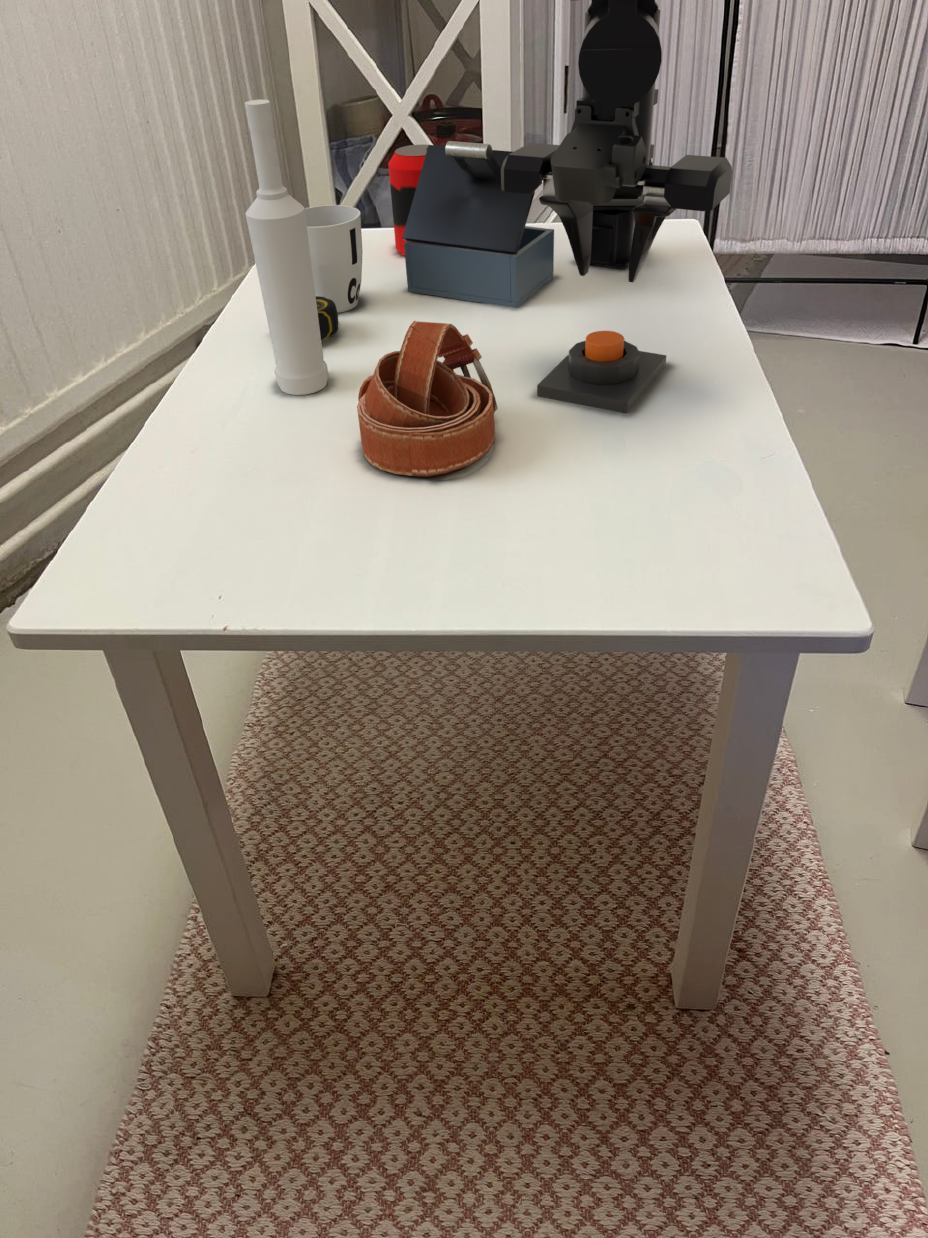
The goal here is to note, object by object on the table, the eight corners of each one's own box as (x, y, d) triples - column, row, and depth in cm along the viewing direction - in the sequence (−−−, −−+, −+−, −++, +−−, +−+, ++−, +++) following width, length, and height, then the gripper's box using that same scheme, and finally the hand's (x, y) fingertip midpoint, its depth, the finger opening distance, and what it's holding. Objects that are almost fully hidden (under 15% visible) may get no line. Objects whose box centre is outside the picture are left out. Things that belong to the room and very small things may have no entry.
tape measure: (329, 321, 105) (325, 288, 102) (348, 342, 100) (344, 308, 97) (270, 333, 103) (264, 300, 100) (287, 355, 98) (281, 321, 95)
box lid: (430, 147, 107) (413, 124, 102) (545, 157, 101) (531, 132, 97) (404, 240, 107) (386, 221, 103) (517, 254, 102) (502, 235, 97)
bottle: (320, 397, 90) (275, 108, 74) (269, 394, 91) (215, 108, 75) (336, 374, 94) (297, 95, 78) (287, 371, 95) (239, 95, 79)
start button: (593, 345, 90) (594, 327, 89) (628, 351, 89) (629, 333, 88) (579, 359, 88) (579, 342, 87) (615, 366, 86) (616, 348, 85)
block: (581, 352, 95) (582, 323, 93) (665, 366, 92) (668, 337, 90) (536, 396, 88) (536, 367, 86) (626, 414, 84) (629, 383, 82)
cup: (366, 316, 105) (355, 225, 99) (295, 319, 105) (280, 228, 99) (373, 290, 111) (363, 203, 105) (306, 293, 112) (293, 206, 105)
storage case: (449, 263, 118) (446, 216, 114) (553, 277, 112) (554, 229, 108) (407, 291, 111) (403, 242, 107) (516, 308, 105) (516, 257, 102)
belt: (530, 427, 83) (530, 318, 77) (450, 494, 75) (443, 378, 69) (406, 394, 89) (397, 291, 83) (320, 453, 81) (302, 343, 75)
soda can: (458, 254, 120) (454, 153, 112) (401, 261, 119) (392, 160, 111) (446, 237, 126) (440, 139, 118) (391, 243, 125) (382, 146, 117)
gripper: (467, 94, 72) (475, 294, 82) (704, 107, 65) (680, 325, 74) (528, 68, 79) (528, 255, 89) (746, 77, 72) (720, 279, 82)
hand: (607, 277), depth 83 cm, fingers open, 4 cm apart
